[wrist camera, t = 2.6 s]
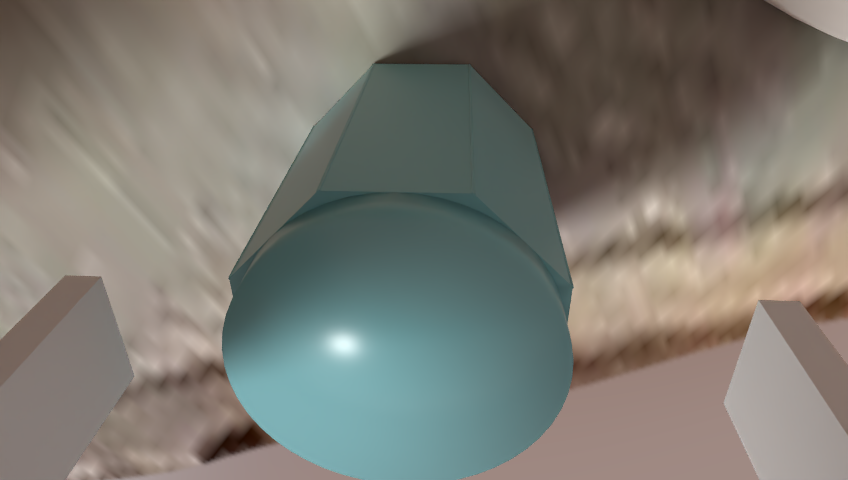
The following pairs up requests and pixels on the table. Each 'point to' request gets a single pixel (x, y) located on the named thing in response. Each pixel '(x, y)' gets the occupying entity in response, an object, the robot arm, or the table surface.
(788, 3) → the post base
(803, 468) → the robot arm
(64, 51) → the table surface
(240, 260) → the teal cap
